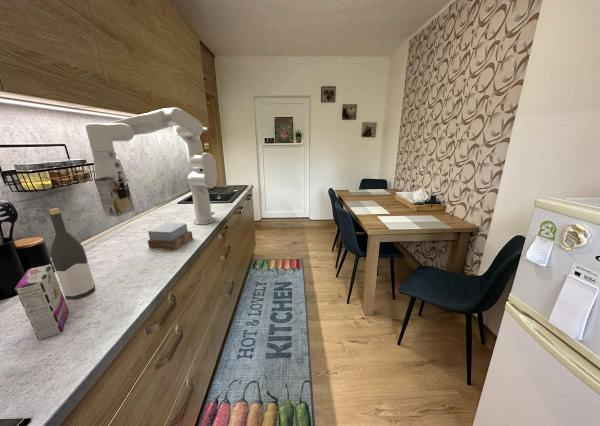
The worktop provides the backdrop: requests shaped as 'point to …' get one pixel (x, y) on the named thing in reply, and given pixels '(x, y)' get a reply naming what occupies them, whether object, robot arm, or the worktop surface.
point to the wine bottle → (70, 261)
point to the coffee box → (113, 198)
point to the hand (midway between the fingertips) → (116, 197)
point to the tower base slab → (171, 242)
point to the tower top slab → (168, 231)
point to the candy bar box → (43, 301)
